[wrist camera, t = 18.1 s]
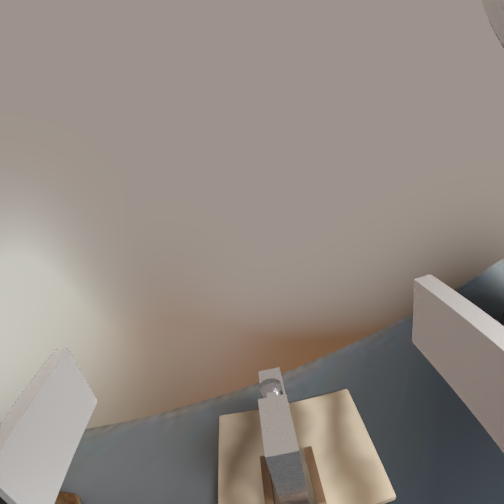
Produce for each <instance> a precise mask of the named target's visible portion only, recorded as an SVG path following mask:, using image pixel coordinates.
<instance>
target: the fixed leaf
mask: <svg viewBox="0 0 504 504" xmlns="http://www.w3.org/2000/svg"><path fill="white" fill-rule="evenodd" d="M270 378H274V379H278V380H279V381H280V382H281V386H282V391H283V394H286V393H285V389H284V384H283V380H282V375H281V371H280V368H279V367H278V368H273V369H268V370H263V371H259V381H260V383H261V382H262V381H264V380H266V379H270Z"/></svg>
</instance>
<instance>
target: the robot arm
mask: <svg viewBox="0 0 504 504" xmlns="http://www.w3.org/2000/svg"><path fill="white" fill-rule="evenodd" d="M482 2H483V5H484V9H485V12H486V14H487V16H488V19H489V21H490V23H491V25H492V27H493V30H494V32H495V33H496V35H497V37H498V39H499V40H500V42H501V44H502V46H503V48H504V0H482ZM412 342H413V343H414V344H415V346H416V347H417V348H418V349H419V350H420V351H421V352H422V354H423V355H424V356H425V357H426V358H427V359H428V360H429V362H430V363H431V364H432V365H433V366H434V367H435V369H436V370H437V371H438V372H439V373H440V374H441V376H442V377H443V378H444V379H445V380H446V381H447V383H448V384H449V385H450V386H451V387H452V389H453V390H454V391H455V392H456V393H457V395H458V396H459V397H460V398H461V400H462V401H463V402H464V403H465V404H466V406H467V407H468V408H469V409H470V411H471V412H472V413H473V414H474V416H475V417H476V418H477V419H478V421H479V422H480V423H481V424H482V426H483V427H484V428H485V429H486V431H487V432H488V433H489V435H490V436H491V437H492V438H493V440H494V441H495V442H496V444H497V445H498V446H499V448H500V449H501V450H502V452H503V453H504V313H503V316H502V322H501V324H500V323H499V322H497V321H496V320H495V319H493V318H492V317H491V316H489V315H488V314H487V313H485V312H484V311H483V310H481V309H480V308H478V307H477V306H476V305H474V304H473V303H471V302H470V301H469V300H467V299H466V298H464V297H463V296H462V295H460V294H459V293H457V292H456V291H454V290H453V289H451V288H450V287H449V286H447V285H446V284H444V283H443V282H441V281H439V280H438V279H437V278H435V277H434V276H432V275H431V274H430V275H426V276H423V277H419V278H416V279H414V306H413V332H412ZM97 402H98V401H97V399H96V397H95V396H94V394H93V392H92V390H91V389H90V387H89V385H88V383H87V382H86V380H85V378H84V376H83V374H82V373H81V370H80V368H79V367H78V365H77V363H76V361H75V359H74V357H73V355H72V353H71V351H70V349H69V348H65V349H56V350H54V352H53V353H52V354H51V355H50V357H49V358H48V359H47V361H46V362H45V363H44V365H43V366H42V367H41V368H40V370H39V371H38V372H37V374H36V375H35V376H34V378H33V379H32V380H31V382H30V383H29V384H28V386H27V387H26V389H25V390H24V391H23V393H22V394H21V396H20V397H19V398H18V400H17V401H16V402H15V404H14V405H13V407H12V408H11V410H10V411H9V412H8V414H7V415H6V417H5V418H4V420H3V421H2V423H1V424H0V504H55V501H56V499H57V496H58V493H59V491H60V488H61V486H62V483H63V481H64V478H65V476H66V473H67V471H68V468H69V466H70V463H71V461H72V458H73V456H74V454H75V451H76V449H77V447H78V444H79V442H80V440H81V437H82V435H83V433H84V431H85V428H86V426H87V424H88V422H89V419H90V417H91V415H92V413H93V411H94V408H95V406H96V404H97Z"/></svg>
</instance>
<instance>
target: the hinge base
mask: <svg viewBox="0 0 504 504" xmlns="http://www.w3.org/2000/svg"><path fill="white" fill-rule="evenodd" d="M288 404H289V408H290V412H291V416H292V421H293V425H294V429H295V434H296V438H297V442H298V446H299V451H300V456H301V461H302V466H303V472H304V477H305V482H306V488H307V493H308V498H309V504H385V503H387V502H390V501H393V500H395V498H396V495H395V492H394V490H393V488H392V485H391V483H390V481H389V479H388V476H387V474H386V472H385V470H384V467H383V465H382V463H381V461H380V458H379V456H378V454H377V452H376V450H375V447H374V445H373V443H372V441H371V439H370V436H369V434H368V432H367V430H366V428H365V426H364V423H363V421H362V419H361V417H360V415H359V413H358V410H357V408H356V406H355V404H354V402H353V400H352V398H351V395H350V393H349V391H348V389H344V390H341V391H337V392H333V393H330V394H326V395H322V396H318V397H314V398H310V399H306V400H301V401H297V402H293V403H288ZM218 504H281V503H280V500H279V497H278V494H277V491H276V488H275V486H274V483H273V480H272V477H271V474H270V471H269V468H268V465H267V462H266V459H265V454H264V446H263V438H262V430H261V422H260V414H259V409H258V410H252V411H246V412H240V413H234V414H228V415H221V416H219V462H218Z"/></svg>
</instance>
